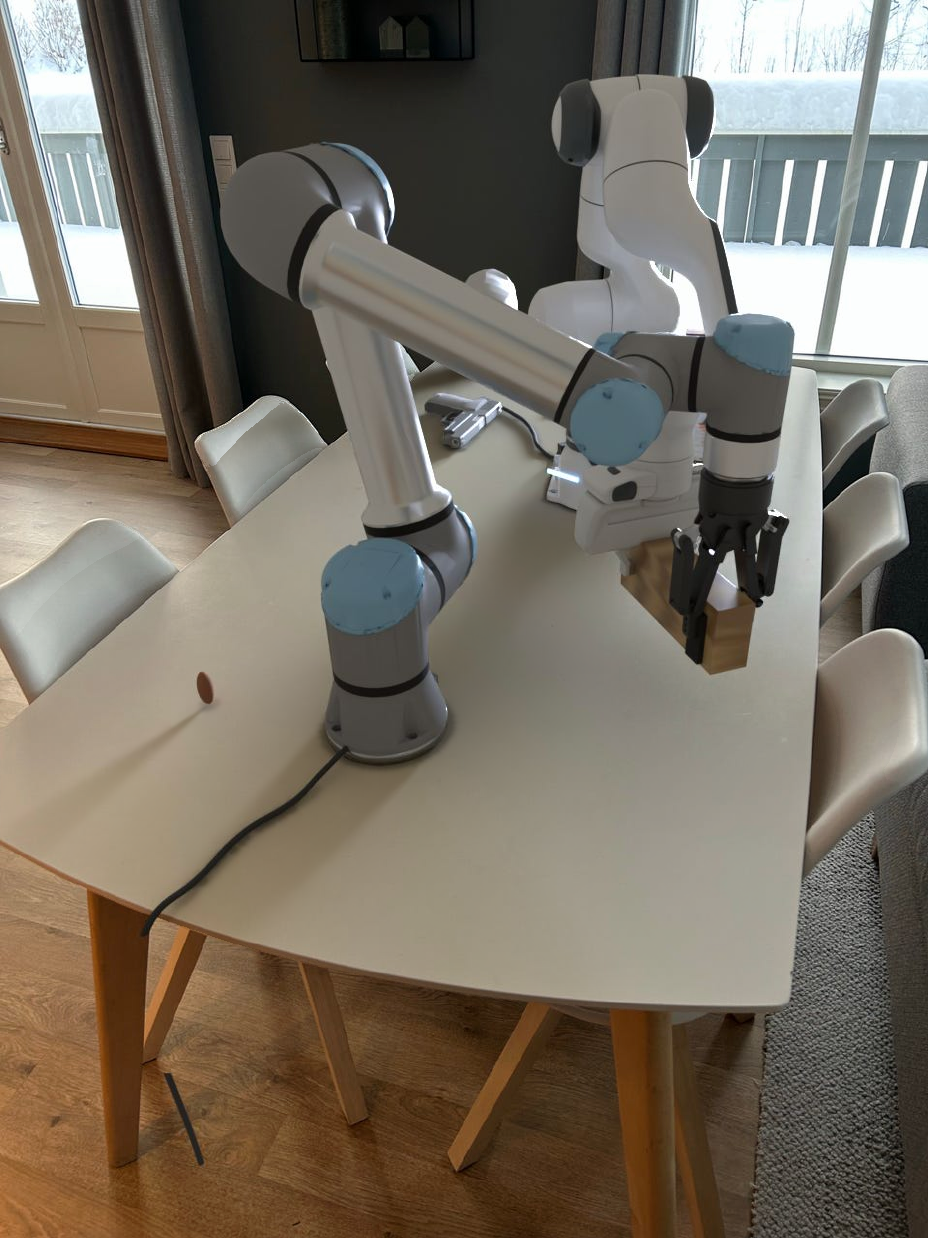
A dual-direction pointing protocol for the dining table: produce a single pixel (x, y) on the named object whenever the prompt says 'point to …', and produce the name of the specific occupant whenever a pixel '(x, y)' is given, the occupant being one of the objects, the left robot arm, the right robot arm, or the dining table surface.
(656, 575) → the bar
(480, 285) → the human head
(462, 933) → the dining table surface
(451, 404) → the pistol
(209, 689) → the oval capsule
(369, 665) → the left robot arm
